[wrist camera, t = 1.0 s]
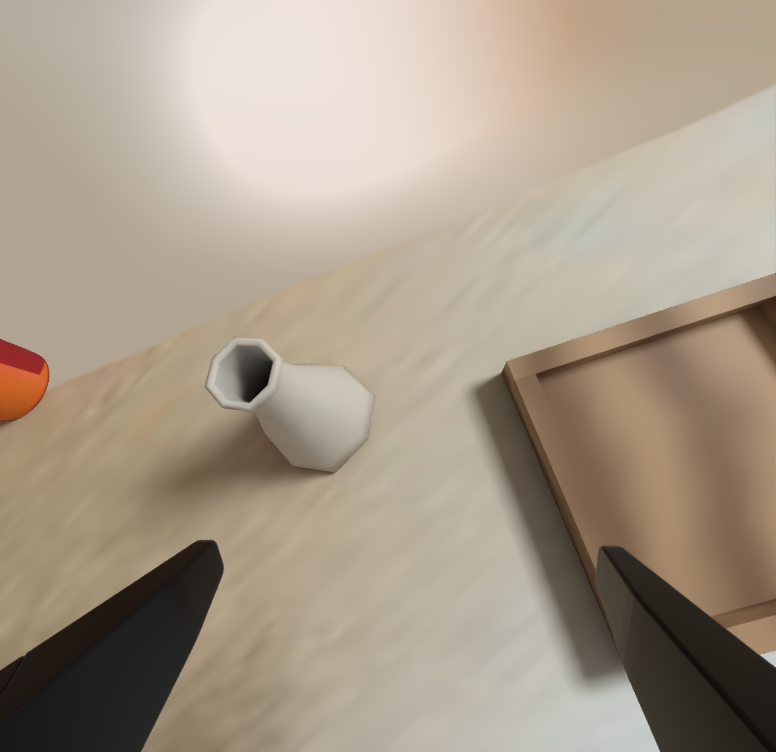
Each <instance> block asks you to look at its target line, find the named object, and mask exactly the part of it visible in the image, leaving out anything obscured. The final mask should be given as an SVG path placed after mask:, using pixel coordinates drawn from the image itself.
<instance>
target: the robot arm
mask: <svg viewBox="0 0 776 752" xmlns="http://www.w3.org/2000/svg"><path fill="white" fill-rule="evenodd" d="M223 570H224V565H223V561H222V558H221V555H220V552H219V549H218V546H217V543H216V542H215V541H213V540H198V541H196V542H194V543H193V544H191V545H190V546H188V547H187V548H185V549H184V550H182V551H181V552H179V553H178V554H176V555H175V556H173V557H172V558H170V559H168V560H167V561H165V562H164V563H162V564H161V565H159V566H158V567H156V568H155V569H153V570H152V571H150V572H149V573H147V574H146V575H144V576H143V577H141V578H140V579H138V580H137V581H135V582H134V583H132V584H131V585H129V586H128V587H126V588H125V589H123V590H122V591H120V592H118V593H117V594H115V595H114V596H112V597H111V598H109V599H108V600H106V601H105V602H103V603H102V604H100V605H99V606H97V607H96V608H94V609H93V610H91V611H90V612H88V613H87V614H85V615H84V616H82V617H81V618H79V619H78V620H76V621H75V622H73V623H71V624H70V625H68V626H67V627H65V628H64V629H62V630H61V631H59V632H58V633H56V634H55V635H53V636H52V637H50V638H49V639H47V640H46V641H44V642H43V643H41V644H40V645H38V646H37V647H35V648H34V649H32V650H31V651H29V652H28V653H27V654H26V655H25V656H22V657H20V658H18V659H17V660H15V661H14V662H12V663H11V664H9V665H8V666H6V667H5V668H3V669H2V670H0V752H141V751H142V749H143V747H144V745H145V743H146V741H147V739H148V737H149V735H150V733H151V731H152V729H153V727H154V725H155V723H156V721H157V719H158V717H159V715H160V713H161V711H162V709H163V707H164V705H165V703H166V701H167V699H168V697H169V695H170V693H171V691H172V689H173V687H174V685H175V683H176V681H177V679H178V677H179V675H180V673H181V671H182V669H183V667H184V665H185V663H186V661H187V659H188V657H189V655H190V653H191V650H192V648H193V646H194V644H195V642H196V640H197V637H198V635H199V633H200V631H201V628H202V626H203V623H204V621H205V618H206V616H207V613H208V610H209V608H210V605H211V603H212V600H213V598H214V595H215V593H216V590H217V588H218V585H219V583H220V580H221V578H222V575H223ZM595 576H596V583H597V587H598V590H599V593H600V596H601V600H602V603H603V606H604V609H605V612H606V615H607V618H608V621H609V624H610V627H611V630H612V633H613V636H614V640H615V643H616V646H617V649H618V652H619V655H620V658H621V660H622V663H623V666H624V669H625V671H626V673H627V676H628V678H629V681H630V683H631V685H632V688H633V690H634V692H635V695H636V697H637V699H638V702H639V704H640V706H641V708H642V711H643V713H644V715H645V718H646V720H647V722H648V725H649V727H650V729H651V731H652V734H653V736H654V738H655V741H656V743H657V745H658V748H659V750H660V752H776V667H774V666H773V665H772V664H771V663H769V662H768V661H767V660H765V659H764V658H763V657H762V656H760V655H759V654H758V653H757V652H755V651H754V650H753V649H751V648H750V647H749V646H748V645H746V644H745V643H744V642H743V641H741V640H740V639H739V638H737V637H736V636H735V635H734V634H732V633H731V632H730V631H728V630H727V629H726V628H725V627H723V626H722V625H721V624H720V623H718V622H717V621H716V620H714V619H713V618H712V617H711V616H709V615H708V614H707V613H706V612H704V611H703V610H702V609H700V608H699V607H698V606H697V605H695V604H694V603H693V602H692V601H690V600H689V599H688V598H686V597H685V596H684V595H683V594H681V593H680V592H679V591H678V590H676V589H675V588H674V587H672V586H671V585H670V584H669V583H667V582H666V581H665V580H664V579H662V578H661V577H660V576H658V575H657V574H656V573H655V572H653V571H652V570H651V569H650V568H648V567H647V566H646V565H644V564H643V563H642V562H641V561H639V560H638V559H637V558H636V557H634V556H633V555H632V554H630V553H629V552H628V551H627V550H625V549H624V548H622V547H620V546H601V547H600V548H599V550H598V556H597V565H596V574H595Z"/></svg>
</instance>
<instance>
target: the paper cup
mask: <svg viewBox="0 0 776 752" xmlns="http://www.w3.org/2000/svg"><path fill="white" fill-rule="evenodd" d="M48 382H49V368H48V365H47V363H46V361H45V360H44V359H43V358H42V357H41V356H40V355H38V354H36V353H34V352H31V351H29V350H27V349H24V348H22V347H19V346H17V345H14V344H12V343H9V342H7V341H4V340H2V339H0V420H14V419H17V418H20V417H22V416H24V415H25V414H27V413H28V412H30V411H31V410H32V409H33V408H34V407H35V406H36V405H37V404H38V403H39V401H40V400H41V399H42V397H43V395H44V393H45V391H46V389H47V386H48Z"/></svg>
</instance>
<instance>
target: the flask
mask: <svg viewBox="0 0 776 752" xmlns="http://www.w3.org/2000/svg"><path fill="white" fill-rule="evenodd" d="M205 388H206V389H207V390H208V392H209V393H210V394H211V395H212V396H213V397H214V399H215V400H216V401H217V402H218V403H219V405H220V406H221V407H222V408H224V409H232V410H240V411H249V412H253V413H254V414H255V415H256V416H257V418H258V420H259V422H260V424H261V426H262V428H263V431H264V433H265V434H266V436H267V437H268V438H269V439H270V441H271V442H272V443H273V444H274V445H275V446H276V447H277V449H278V450H279V451H280V452H281V453H282V454H283V455H284V457H285V458H286V459H287V460H288V461H289V462H290V463H291V465H292V466H294V467H301V468H308V469H315V470H322V471H329V472H337V471H338V470H339V469H340V468H341V467H342V465H343V464H344V463H345V462H346V461H347V460H348V459H349V458H350V457H351V456H352V455H353V454H354V453H355V452H356V451H357V450H358V449H359V448H360V447H361V446H362V445H363V444H364V443H365V441H366V440H367V439H368V435H369V428H370V421H371V415H372V408H373V401H374V394H373V393H372V392H371V391H370V390H369V389H367V388H366V387H365V386H364V385H363V384H362V383H361V382H360V381H359V380H358V379H357V378H356V377H355V376H354V375H353V374H352V373H351V372H350V371H349V370H348V369H346V368H345V367H337V366H325V365H314V364H293V365H292V364H289V363H286V362H284V361H283V359H282V358H281V357H280V356H279V355H278V354H277V353H276V352H275V351H274V350H273V349H272V348H271V347H270V346H269V345H268V344H267V343H266V342H265V341H264V340H262V339H254V338H241V337H234V338H233V339H232V340H231V341H230V342H229V343H228V344H227V345H226V346H225V347H223V348H222V349H221V350H220V351H219V352H218V353H217V354H216V355H215V356H214V357H213V358H212V361H211V365H210V369H209V372H208V376H207V380H206V383H205Z"/></svg>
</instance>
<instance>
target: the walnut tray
mask: <svg viewBox="0 0 776 752" xmlns="http://www.w3.org/2000/svg"><path fill="white" fill-rule="evenodd" d="M502 374H503V377H504V379H505V382H506V384H507V386H508V389H509V391H510V393H511V396H512V398H513V401H514V403H515V405H516V408H517V410H518V413H519V415H520V417H521V420H522V422H523V425H524V427H525V429H526V432H527V434H528V437H529V439H530V441H531V444H532V446H533V449H534V451H535V453H536V456H537V458H538V461H539V463H540V465H541V468H542V470H543V473H544V475H545V477H546V480H547V482H548V485H549V487H550V489H551V492H552V494H553V497H554V499H555V501H556V504H557V506H558V508H559V511H560V513H561V516H562V518H563V520H564V523H565V525H566V528H567V530H568V532H569V535H570V537H571V540H572V542H573V544H574V547H575V549H576V552H577V554H578V556H579V559H580V561H581V564H582V566H583V568H584V571H585V573H586V576H587V578H588V580H589V583H590V585H591V588H592V590H593V592H594V595H595V597H596V600H597V602H598V604H599V607H600V609H601V612H602V614H603V616H604V619H605V621H606V623H607V626H608V628H609V631H610V633H611V635H612V638H613V640H614V636H613V633H612V630H611V627H610V624H609V621H608V618H607V615H606V612H605V609H604V606H603V603H602V600H601V596H600V593H599V590H598V587H597V583H596V576H595V574H596V565H597V556H598V550H599V548H600V547H601V546H620V547H622V548H624V549H625V550H627V551H628V552H629V553H630V554H632V555H633V556H634V557H636V558H637V559H638V560H639V561H641V562H642V563H643V564H644V565H646V566H647V567H648V568H650V569H651V570H652V571H653V572H655V573H656V574H657V575H658V576H660V577H661V578H662V579H664V580H665V581H666V582H667V583H669V584H670V585H671V586H672V587H674V588H675V589H676V590H678V591H679V592H680V593H681V594H683V595H684V596H685V597H686V598H688V599H689V600H690V601H692V602H693V603H694V604H695V605H697V606H698V607H699V608H700V609H702V610H703V611H704V612H706V613H707V614H708V615H709V616H711V617H712V618H713V619H714V620H716V621H717V622H718V623H720V624H721V625H722V626H723V627H725V628H726V629H727V630H728V631H730V632H731V633H732V634H734V635H735V636H736V637H737V638H739V639H740V640H741V641H743V642H744V643H745V644H746V645H748V646H749V647H750V648H751V649H753V650H754V651H755V652H757V653H758V654H759V655H760V654H764V653H767V652H771V651H775V650H776V273H774V274H771V275H768V276H765V277H762V278H759V279H756V280H753V281H750V282H747V283H744V284H741V285H738V286H735V287H732V288H729V289H726V290H723V291H720V292H716V293H713V294H710V295H707V296H704V297H701V298H698V299H695V300H692V301H689V302H686V303H683V304H680V305H677V306H674V307H671V308H668V309H665V310H662V311H659V312H656V313H653V314H649V315H646V316H643V317H640V318H637V319H634V320H631V321H628V322H625V323H622V324H619V325H616V326H613V327H610V328H607V329H604V330H601V331H598V332H595V333H592V334H589V335H586V336H582V337H579V338H576V339H573V340H570V341H567V342H564V343H561V344H558V345H555V346H552V347H549V348H546V349H543V350H540V351H537V352H534V353H531V354H528V355H525V356H522V357H519V358H515V359H512V360H509V361H507V362H506V364H505V366H504V368H503V371H502ZM614 643H615V640H614ZM615 645H616V643H615ZM616 647H617V646H616ZM617 650H618V649H617Z"/></svg>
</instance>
